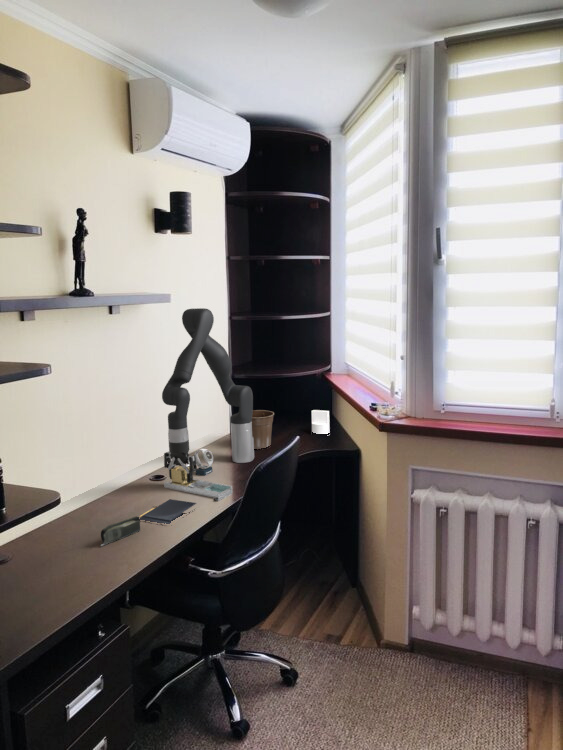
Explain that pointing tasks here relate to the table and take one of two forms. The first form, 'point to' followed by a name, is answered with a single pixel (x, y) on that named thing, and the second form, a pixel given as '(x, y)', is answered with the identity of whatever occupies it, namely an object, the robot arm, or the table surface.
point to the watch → (207, 457)
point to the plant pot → (262, 428)
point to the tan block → (179, 475)
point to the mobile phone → (120, 530)
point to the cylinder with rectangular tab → (320, 422)
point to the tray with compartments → (203, 488)
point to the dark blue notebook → (167, 511)
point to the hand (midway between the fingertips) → (181, 480)
